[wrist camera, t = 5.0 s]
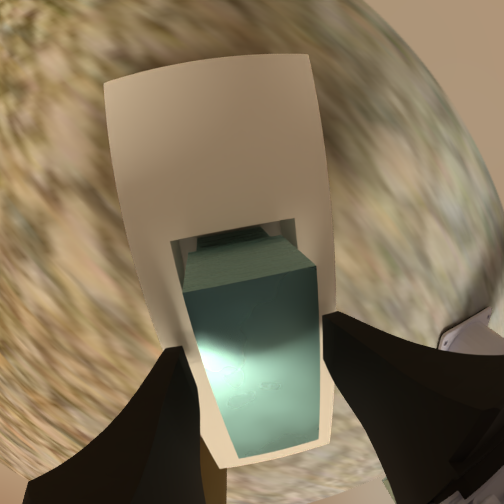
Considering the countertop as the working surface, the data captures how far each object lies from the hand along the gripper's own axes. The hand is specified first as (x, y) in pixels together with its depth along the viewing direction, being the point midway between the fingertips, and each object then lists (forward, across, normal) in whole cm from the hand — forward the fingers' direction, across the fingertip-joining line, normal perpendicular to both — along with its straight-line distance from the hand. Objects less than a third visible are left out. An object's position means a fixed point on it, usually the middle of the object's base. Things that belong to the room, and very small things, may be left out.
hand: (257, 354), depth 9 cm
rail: (+5, 0, 0) cm, 5 cm away
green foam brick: (+3, 0, 0) cm, 3 cm away
